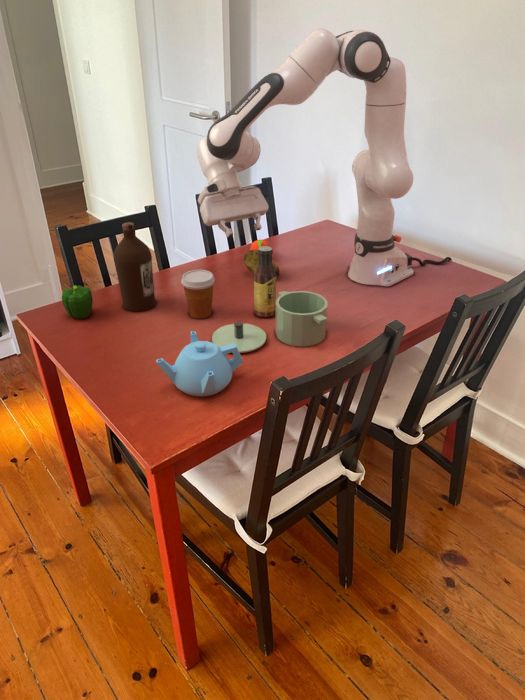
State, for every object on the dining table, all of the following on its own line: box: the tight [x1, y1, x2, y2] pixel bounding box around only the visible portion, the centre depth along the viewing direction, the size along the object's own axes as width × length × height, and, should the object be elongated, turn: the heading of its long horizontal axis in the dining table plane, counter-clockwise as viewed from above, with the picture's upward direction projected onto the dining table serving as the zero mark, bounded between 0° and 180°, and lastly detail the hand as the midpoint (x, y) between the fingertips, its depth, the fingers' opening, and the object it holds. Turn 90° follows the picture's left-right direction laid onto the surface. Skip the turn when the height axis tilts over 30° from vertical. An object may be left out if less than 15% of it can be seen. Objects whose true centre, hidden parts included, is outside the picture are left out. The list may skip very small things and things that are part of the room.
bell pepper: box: [61, 285, 93, 320], centre depth 152 cm, size 8×8×10 cm
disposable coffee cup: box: [180, 269, 216, 319], centre depth 152 cm, size 10×10×12 cm
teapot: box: [155, 330, 244, 398], centre depth 123 cm, size 15×15×11 cm
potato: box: [243, 249, 281, 278], centre depth 175 cm, size 8×13×8 cm, turn 34°
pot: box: [274, 290, 329, 347], centre depth 142 cm, size 14×19×10 cm
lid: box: [211, 321, 267, 354], centre depth 141 cm, size 15×15×5 cm
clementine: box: [249, 239, 270, 251], centre depth 187 cm, size 8×7×7 cm
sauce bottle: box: [253, 245, 277, 318], centre depth 149 cm, size 6×6×20 cm
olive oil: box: [113, 221, 156, 312], centre depth 153 cm, size 11×11×25 cm
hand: (244, 232), depth 151 cm, fingers open, 8 cm apart
